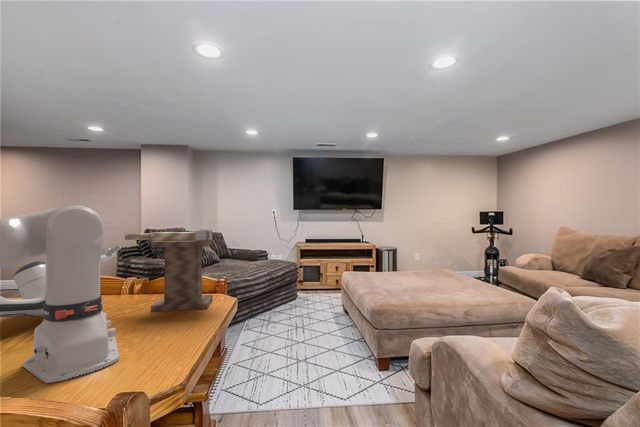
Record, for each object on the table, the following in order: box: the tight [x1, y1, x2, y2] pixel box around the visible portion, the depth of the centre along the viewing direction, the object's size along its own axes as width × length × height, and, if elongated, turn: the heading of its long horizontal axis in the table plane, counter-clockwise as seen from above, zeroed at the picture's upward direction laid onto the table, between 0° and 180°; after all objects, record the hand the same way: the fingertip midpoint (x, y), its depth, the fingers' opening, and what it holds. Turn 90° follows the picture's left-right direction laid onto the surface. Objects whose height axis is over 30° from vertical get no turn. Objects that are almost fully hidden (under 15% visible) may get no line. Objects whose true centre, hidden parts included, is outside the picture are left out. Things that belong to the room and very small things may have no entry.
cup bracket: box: [194, 229, 213, 241], centre depth 119 cm, size 5×8×4 cm, turn 11°
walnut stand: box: [150, 238, 214, 312], centre depth 117 cm, size 20×12×26 cm, turn 101°
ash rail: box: [124, 231, 195, 242], centre depth 116 cm, size 26×4×3 cm, turn 101°
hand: (113, 248), depth 113 cm, fingers open, 8 cm apart
